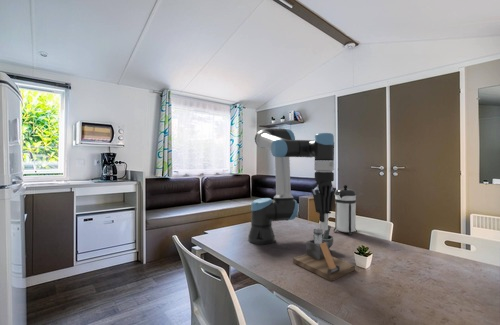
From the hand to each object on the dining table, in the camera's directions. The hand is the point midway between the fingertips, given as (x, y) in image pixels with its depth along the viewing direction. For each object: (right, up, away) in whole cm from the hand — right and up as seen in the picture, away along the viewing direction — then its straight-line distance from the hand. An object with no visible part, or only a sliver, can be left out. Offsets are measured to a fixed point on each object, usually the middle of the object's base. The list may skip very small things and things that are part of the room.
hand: (323, 229), depth 98 cm
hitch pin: (+1, -18, +12) cm, 22 cm away
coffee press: (+31, -17, +56) cm, 66 cm away
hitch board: (+1, -18, +6) cm, 19 cm away
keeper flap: (+1, -11, -1) cm, 11 cm away
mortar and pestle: (+8, -18, +25) cm, 32 cm away
